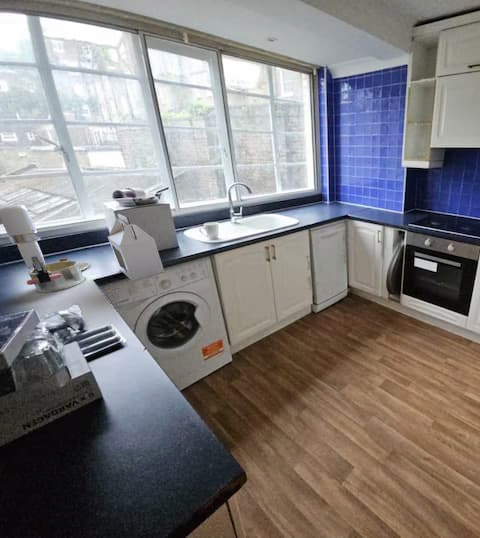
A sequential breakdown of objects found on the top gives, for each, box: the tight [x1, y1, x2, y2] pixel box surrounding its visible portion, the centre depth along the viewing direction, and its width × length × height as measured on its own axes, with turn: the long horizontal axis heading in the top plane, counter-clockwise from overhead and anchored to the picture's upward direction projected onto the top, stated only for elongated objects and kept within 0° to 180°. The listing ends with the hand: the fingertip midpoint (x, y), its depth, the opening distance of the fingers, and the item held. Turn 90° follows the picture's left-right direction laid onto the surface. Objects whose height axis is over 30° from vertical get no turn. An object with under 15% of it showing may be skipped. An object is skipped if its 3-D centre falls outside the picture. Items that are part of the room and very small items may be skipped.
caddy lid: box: [58, 257, 90, 271], centre depth 148 cm, size 17×17×7 cm
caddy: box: [28, 260, 85, 293], centre depth 132 cm, size 16×16×8 cm
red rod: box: [26, 274, 61, 286], centre depth 119 cm, size 10×2×2 cm, turn 139°
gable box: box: [107, 213, 165, 282], centre depth 140 cm, size 22×13×28 cm, turn 49°
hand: (45, 280), depth 119 cm, fingers closed on red rod, 2 cm apart
